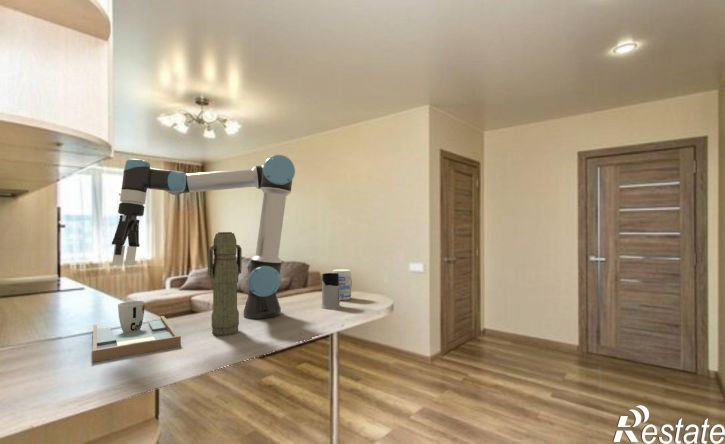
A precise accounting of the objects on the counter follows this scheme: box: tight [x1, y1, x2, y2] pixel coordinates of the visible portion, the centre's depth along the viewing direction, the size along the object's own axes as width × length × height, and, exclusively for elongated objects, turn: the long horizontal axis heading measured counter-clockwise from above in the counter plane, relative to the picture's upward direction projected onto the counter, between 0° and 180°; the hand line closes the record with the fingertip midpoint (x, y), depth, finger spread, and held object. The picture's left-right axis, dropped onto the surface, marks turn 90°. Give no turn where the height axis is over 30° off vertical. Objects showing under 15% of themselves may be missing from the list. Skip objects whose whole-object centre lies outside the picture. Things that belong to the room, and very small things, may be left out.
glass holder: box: [320, 272, 353, 310], centre depth 167 cm, size 9×14×15 cm, turn 93°
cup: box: [117, 300, 146, 334], centre depth 130 cm, size 8×8×10 cm
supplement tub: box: [332, 268, 352, 301], centre depth 185 cm, size 10×10×15 cm
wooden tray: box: [91, 315, 182, 363], centre depth 121 cm, size 36×22×3 cm, turn 36°
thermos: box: [207, 231, 243, 337], centre depth 127 cm, size 9×12×35 cm
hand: (123, 265), depth 124 cm, fingers open, 13 cm apart
